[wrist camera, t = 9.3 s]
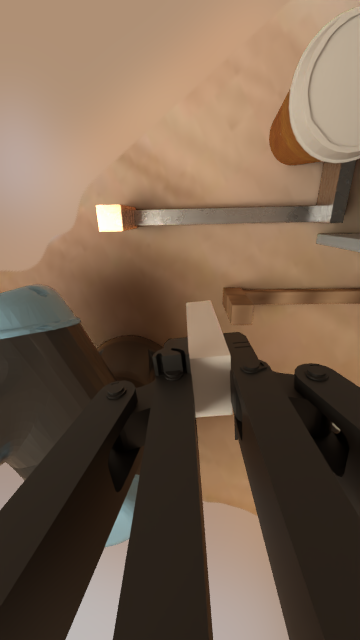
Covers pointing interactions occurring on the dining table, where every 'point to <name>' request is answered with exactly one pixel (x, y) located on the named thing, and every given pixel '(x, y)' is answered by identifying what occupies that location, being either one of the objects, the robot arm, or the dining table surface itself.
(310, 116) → the disposable coffee cup
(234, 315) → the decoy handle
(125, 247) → the dining table surface
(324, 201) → the wood-tipped metal rod
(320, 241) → the shelf cubby
